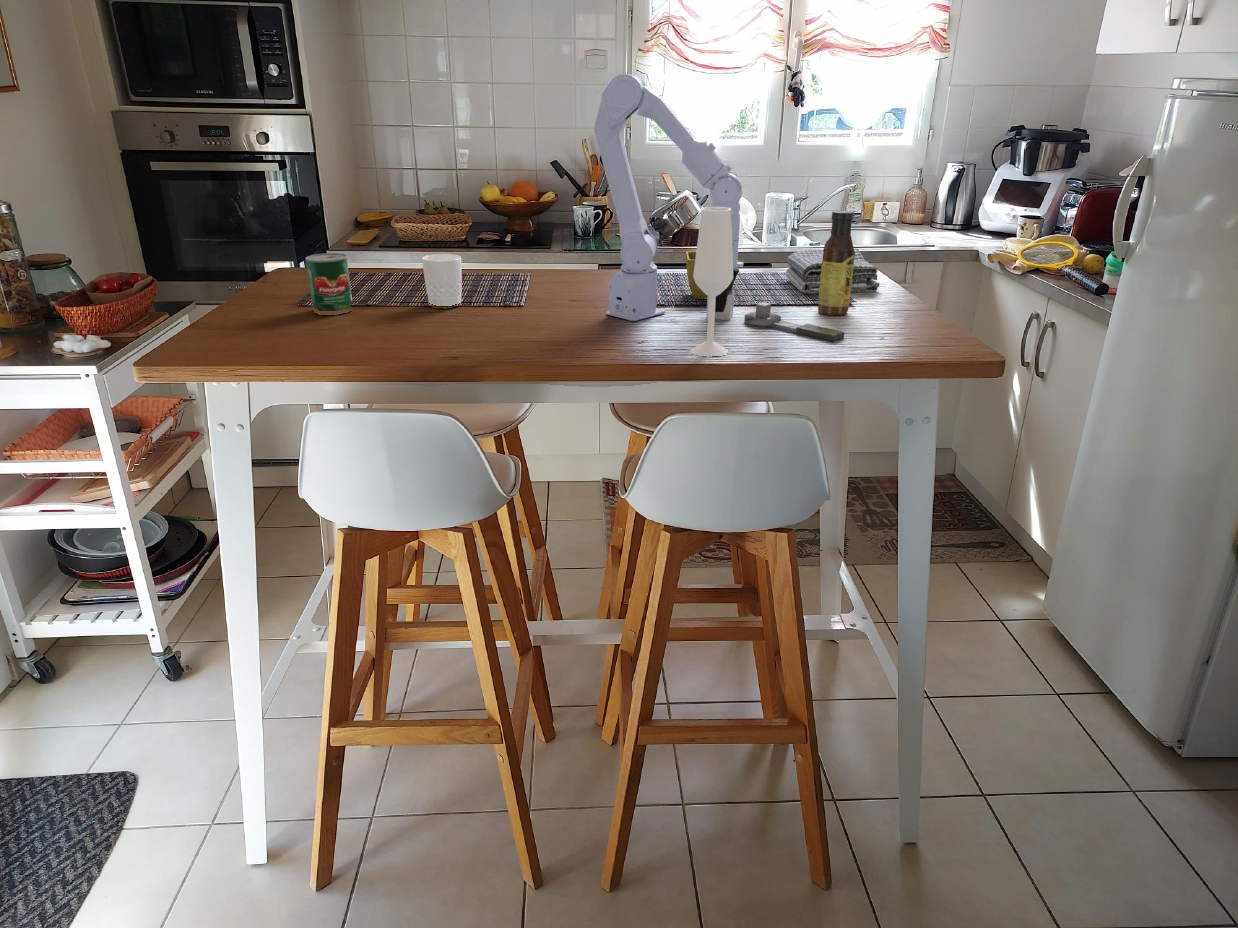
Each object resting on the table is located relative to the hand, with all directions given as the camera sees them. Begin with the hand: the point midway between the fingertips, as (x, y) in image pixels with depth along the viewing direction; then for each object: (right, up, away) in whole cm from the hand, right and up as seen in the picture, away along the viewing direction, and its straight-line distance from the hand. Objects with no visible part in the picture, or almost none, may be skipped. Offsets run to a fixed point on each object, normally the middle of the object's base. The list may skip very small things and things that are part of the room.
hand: (720, 308), depth 169 cm
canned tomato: (-78, 0, +4) cm, 79 cm away
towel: (+28, +9, +26) cm, 39 cm away
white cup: (-56, +2, +9) cm, 57 cm away
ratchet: (+12, -6, -8) cm, 16 cm away
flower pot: (-1, +5, +16) cm, 17 cm away
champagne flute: (-4, -12, -21) cm, 24 cm away
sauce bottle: (+23, 0, +4) cm, 24 cm away
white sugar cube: (0, -1, +1) cm, 2 cm away
